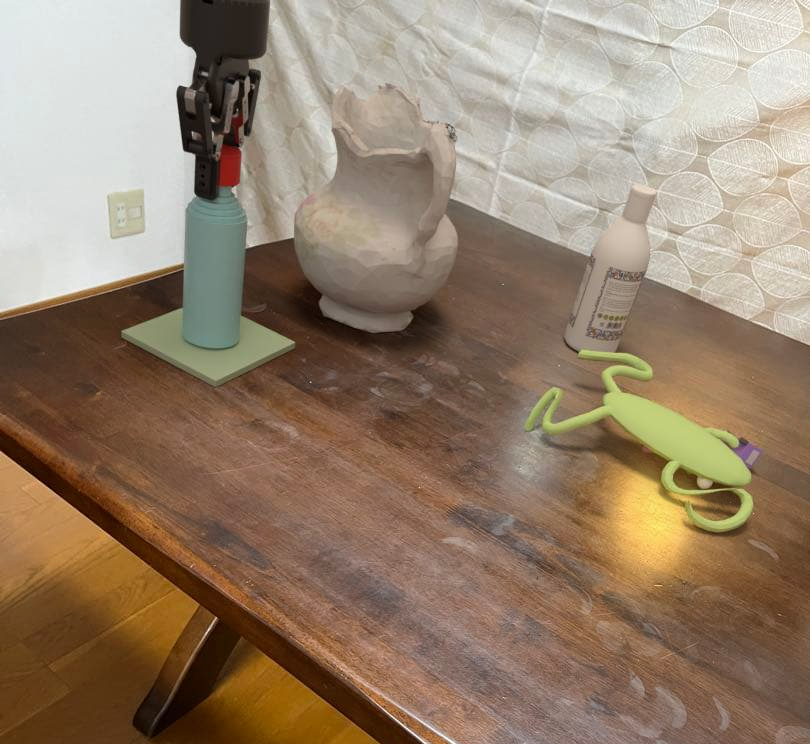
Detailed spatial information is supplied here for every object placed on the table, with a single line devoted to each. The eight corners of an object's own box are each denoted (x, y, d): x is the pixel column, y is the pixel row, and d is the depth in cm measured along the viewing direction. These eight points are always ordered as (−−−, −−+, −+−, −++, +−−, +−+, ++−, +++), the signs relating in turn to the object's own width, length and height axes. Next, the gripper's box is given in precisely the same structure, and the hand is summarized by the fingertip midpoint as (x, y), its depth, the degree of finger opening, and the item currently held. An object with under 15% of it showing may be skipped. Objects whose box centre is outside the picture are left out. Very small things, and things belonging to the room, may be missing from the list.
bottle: (169, 333, 91) (173, 148, 81) (208, 319, 96) (216, 143, 85) (213, 353, 89) (222, 167, 79) (250, 338, 94) (264, 160, 83)
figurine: (586, 373, 105) (602, 331, 102) (790, 482, 94) (815, 439, 90) (500, 417, 93) (514, 371, 89) (722, 548, 82) (748, 502, 78)
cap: (229, 189, 81) (231, 158, 80) (189, 179, 82) (190, 148, 80) (246, 180, 85) (248, 150, 83) (207, 170, 85) (208, 140, 83)
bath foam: (625, 354, 111) (686, 198, 99) (591, 363, 107) (649, 202, 95) (586, 329, 115) (640, 176, 103) (552, 337, 111) (603, 179, 99)
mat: (121, 337, 91) (121, 330, 90) (206, 304, 100) (206, 298, 100) (215, 387, 87) (216, 380, 86) (295, 348, 96) (295, 342, 96)
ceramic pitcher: (479, 349, 107) (546, 138, 93) (362, 370, 94) (420, 129, 80) (368, 277, 118) (412, 78, 103) (249, 287, 105) (282, 61, 91)
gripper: (218, -29, 79) (210, 164, 90) (145, -18, 68) (145, 201, 79) (296, -9, 79) (278, 183, 89) (234, 6, 68) (222, 223, 78)
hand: (216, 190), depth 84 cm, fingers closed on cap, 4 cm apart
